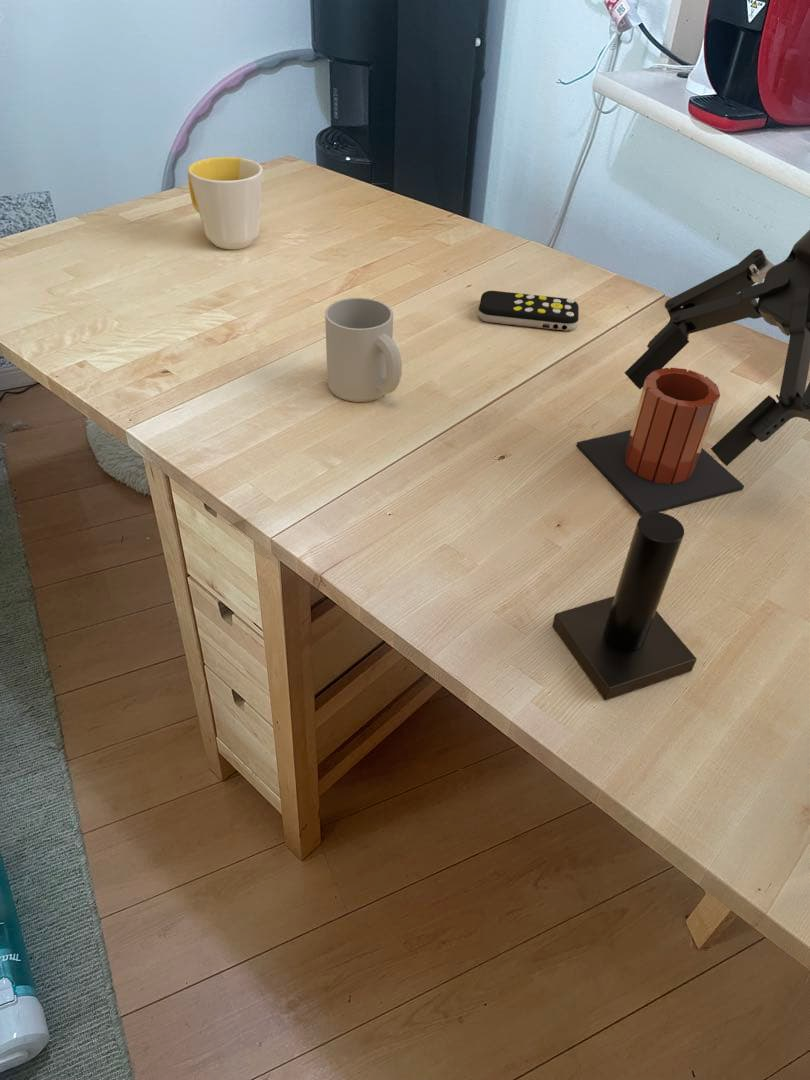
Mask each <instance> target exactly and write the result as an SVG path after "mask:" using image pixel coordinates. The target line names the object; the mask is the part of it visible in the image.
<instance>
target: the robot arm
mask: <svg viewBox="0 0 810 1080" xmlns="http://www.w3.org/2000/svg"><path fill="white" fill-rule="evenodd" d="M756 283H757V284H756ZM757 299H758V300H757ZM664 308H665V309H666V311H667V313H668V316H669V321H668V322H667V324H665V326H664V327H662V329H660V330H659V332H658V333H657V334H655V335H654V337H652V339H650V340H649V342H648V344H647V345H646V348H647V350H646V351H645V352H644V353H643V354H642V355H641V356H640V357H639V358H637V359H636V360H635V362H633V363H632V364H631V366H629V368H627V369H626V371H624V374H625V375H626V376H627V378H628V379H629V380H630V381H631V382H632V383H633V385H635V386H636V388H637V389H638V390H642V389H643V386H644V382H645V379H646V377H647V376H648V375H649V374H650V373H652V372H653V371H655V370H659V369H664V368H665V366H666V365H667V364H668V363H669V362H671V361H672V360H673V358H674V357H676V356H677V355H678V354H679V353H680V352H681V351H682V350H683V349H684V348H685V347H686V346H687V345H688V344H689V343H690V341H689V336H690V335H691V334H694V333H697V332H701V331H705V330H709V329H712V328H716V327H720V326H723V325H726V324H730V323H733V322H738V321H741V320H745V319H749V318H750V319H753V320H756V319H760V318H763V320H764V322H766V323H767V324H769V326H773V327H777V328H778V329H779V330H780V331H781V333H782V334H784V335H785V336H787V337H789V340H788V345H787V346H788V347H787V352H786V356H785V362H784V368H783V374H782V378H781V384H780V390H779V394H775V398H776V399H777V400H778V401H776V399H775V398H774V397H772V396H771V395H767V396H766V397H764V399H763V400H762V401H761V402H760V403H759V404H758V405H757V406H755V407H754V408H752V410H751V411H749V413H747V415H745V416H744V417H743V418H742V419H741V420H740V421H739V422H738V423H737V424H736V425H734V426H733V427H732V428H731V429H730V430H729V431H728V432H727V433H726V434H725V435H724V436H723V437H721V439H719V441H717V442H716V443H715V444H714V445H712V447H711V448H710V450H711V452H713V453H714V456H716V457H717V458H718V459H719V460H720V462H721V463H722V464H724V465H725V467H728V466H729V465H730V464H732V462H733V461H734V460H736V458H738V457H739V456H740V455H741V454H742V453H743V452H744V451H745V450H747V449H748V448H749V447H750V446H751V445H752V444H753V443H755V442H756V441H757V440H758V441H759V442H760V443H763V442H765V441H768V440H769V439H770V438H771V437H772V436H773V435H774V434H775V433H776V432H778V431H779V430H780V429H781V428H782V427H783V426H784V425H786V423H787V422H789V421H790V420H791V419H793V418H800V419H804V420H807V421H808V422H809V423H810V381H809V382H808V384H807V381H808V376H809V371H810V229H809V230H807V231H806V232H805V234H803V235H802V236H801V237H800V238H799V240H797V241H796V242H795V244H793V246H792V248H791V250H790V252H789V254H788V256H787V257H786V259H784V260H783V261H781V262H780V263H777V264H774V263H772V262H771V261H770V260H769V259H768V258H767V257H766V255H765V253H764V251H763V250H762V249H761V248H757V249H754V250H753V251H752V252H750V253H749V254H748V255H747V256H745V257H744V258H743V259H742V260H741V261H740V262H738V263H737V264H735V265H733V266H731V267H729V268H728V269H726V270H723V271H722V272H720V273H718V274H716V275H714V276H711V277H710V278H708V279H705V280H704V281H702V282H700V283H698V284H696V285H694V286H691V287H690V288H689V289H687V290H685V291H683V292H681V293H679V294H676V295H675V296H673V297H672V298H669V299H668V300H666V302H665V303H664Z"/></svg>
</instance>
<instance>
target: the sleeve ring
mask: <svg viewBox="0 0 810 1080" xmlns="http://www.w3.org/2000/svg"><path fill="white" fill-rule="evenodd" d="M720 397H721V392H720V389H719V386H718V385H717V383H715V382H714V381H713V380H712V379H711V378H709V377H708V376H705V374H702V373H699V372H696V371H693V370H691V369H689V370H688V369H687V368H678V367H663V368H662V369H659V370H655V371H653V372H652V373H650V374H649V375H648V376H647V377H646V379H645V382H644V386H643V387H642V388H641V394H640V397H639V401H638V404H637V408H636V410H635V411H636V412H635V415H634V418H633V423H632V427H631V429H630V430H631V433H630V437H629V441H628V444H627V448H626V452H625V462H626V464H627V466H628V467H629V468H630V469H631V470H632V471H633V472H634V473H635V474H638V476H640V477H642V478H644V479H647V480H649V481H653V480H654V483H663V484H670V483H672V484H674V483H678V482H682V481H685V480H687V479H688V478H689V477H690V476H691V475H692V473H693V472H694V469H695V466H696V463H697V461H698V458H699V455H700V452H701V449H702V448H703V446H704V443H705V441H706V438H707V435H708V432H709V429H710V426H711V423H712V421H713V418H714V415H715V412H716V409H717V406H718V403H719V400H720Z"/></svg>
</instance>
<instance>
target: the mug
mask: <svg viewBox="0 0 810 1080" xmlns="http://www.w3.org/2000/svg"><path fill="white" fill-rule="evenodd" d="M263 173H264V170H263V166H262V165H261V164H260V163H258V162H257V161H255V160H252V159H250V158H249V159H248V158H245V157H243V158H242V157H238V156H215V157H208V158H203V159H200V160H197V161H195V162H192V163H191V164H190V165H189V166H188V168H187V180H188V189H189V194H190V199H191V204H192V207H193V208H194V210H195V211H196V212H197V213H198V214H199V217H200V220H201V224H202V228H203V232H204V236H205V237H206V238H207V239H208V240H209V241H210V242H211V243H212V244H213V245H214V246H216V247H218V248H220V249H223V250H240V249H246V248H247V247H249V246H251V245H252V243H253V242H254V241H255V240H256V238H257V237H258V235H259V233H260V220H261V205H262V204H261V203H262V191H263V178H264V177H263Z"/></svg>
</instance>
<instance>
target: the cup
mask: <svg viewBox="0 0 810 1080" xmlns="http://www.w3.org/2000/svg"><path fill="white" fill-rule="evenodd" d="M324 317H325V318H324V320H325V321H324V323H325V353H326V380H327V387H328V388H329V390H330V392H331V393H332V394H333V395H334V396H336V398H339V399H341V400H344V401H347V402H351V403H352V402H354V403H367V402H373V401H375V400H378V399H380V398H382V397H383V396H385V394H391V393H393V392H394V391H396V389H397V388H398V387H399V384H400V382H401V379H402V373H403V366H402V364H403V363H402V357H401V352H400V348H398V345H397V344H396V342H395V341H394V340H393V338H394V337H393V335H394V334H393V333H394V312H393V310H392V308H391V307H390V306H389V305H387V304H386V303H384V302H383V301H380V300H377V299H374V298H367V297H348V298H343V299H340V300H337V301H334V302H333V303H330V304H329V305H328V306H327V307H326V309H325V311H324Z"/></svg>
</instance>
